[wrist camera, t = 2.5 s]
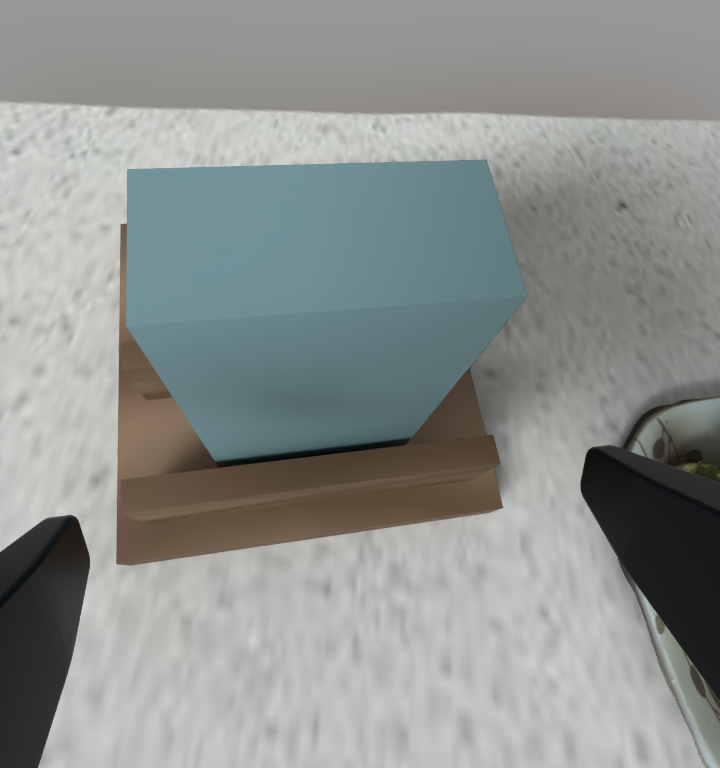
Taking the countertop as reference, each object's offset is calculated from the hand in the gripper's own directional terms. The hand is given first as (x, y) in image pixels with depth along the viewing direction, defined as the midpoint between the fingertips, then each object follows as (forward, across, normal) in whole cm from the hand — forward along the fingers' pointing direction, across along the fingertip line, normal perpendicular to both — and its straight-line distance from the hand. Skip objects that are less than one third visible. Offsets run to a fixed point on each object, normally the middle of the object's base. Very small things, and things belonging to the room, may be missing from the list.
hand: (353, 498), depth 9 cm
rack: (+13, 0, +3) cm, 14 cm away
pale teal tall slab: (+10, 0, +4) cm, 11 cm away
